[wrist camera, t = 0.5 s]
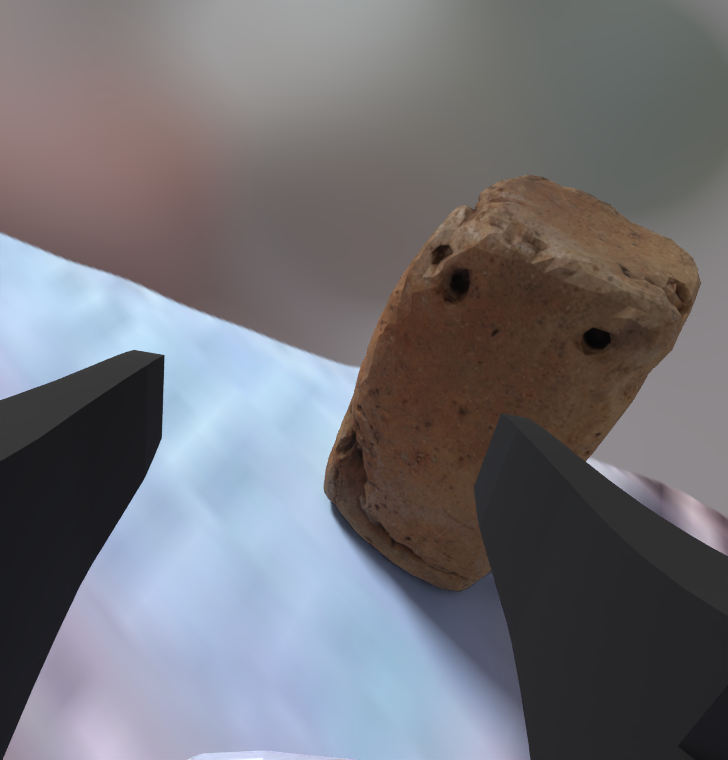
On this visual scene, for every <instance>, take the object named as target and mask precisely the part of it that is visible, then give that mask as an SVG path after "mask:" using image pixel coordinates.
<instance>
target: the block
mask: <svg viewBox="0 0 728 760" xmlns="http://www.w3.org/2000/svg"><path fill="white" fill-rule="evenodd" d="M700 284H701V282H700V278H699V274H698V268H697V266H696V264H695V262H694V260H693V258H692V257H691V256H690V255H689V254H688V253H687V252H686V251H684V250H683V249H682V248H681V247H679V246H678V245H677V244H676V243H675V242H674V241H673V240H671V239H669V238H667V237H664V236H662V235H659V234H657V233H655V232H653V231H651V230H648V229H646V228H644V227H641V226H639V225H637V224H634V223H632V222H630V221H629V220H628V219H626V218H625V217H624V216H623V215H621V214H620V213H619V212H618V211H616V210H615V209H614V208H613V207H612V206H611V205H610V204H607V203H605V202H602V201H600V200H599V199H597V198H596V197H594V196H592V195H591V194H589V193H586V192H583V191H581V190H578V189H576V188H569V187H563V186H560V185H558V184H556V183H554V182H552V181H550V180H548V179H546V178H544V177H539V176H533V175H526V176H520V177H518V178H513V179H507V180H502V181H499V182H498V183H496V184H494V185H492V186H490V187H488V188H486V189H485V190H484V191H483V192H481V193H480V195H479V202H478V203H476V207H475V210H474V209H472V208H470V207H468V206H467V205H463V206H459V207H458V208H457V209H455V210H454V211H453V212H451V213H450V215H449V216H448V217H447V218H446V220H445V221H444V223H442V224H441V225H440V226H439V227H438V228H437V229H436V230H435V232H434V233H433V234H432V235H431V237H430V238H429V239H428V241H427V242H426V243H425V244H424V246H423V247H422V248H421V250H420V251H419V252H418V254H417V255H416V257H415V258H414V259H413V261H412V262H411V264H410V265H409V267H408V268H407V270H406V271H405V272H404V274H403V275H402V277H401V278H400V280H399V282H398V284H397V286H396V287H395V289H394V290H393V292H392V293H391V295H390V297H389V300H388V302H387V305H386V307H385V309H384V311H383V313H382V314H381V316H380V318H379V321H378V324H377V326H376V328H375V331H374V333H373V335H372V338H371V340H370V343H369V346H368V348H367V354H366V357H365V359H364V360H363V362H362V365H361V368H360V371H359V374H358V378H357V382H356V386H355V390H354V394H353V397H352V399H351V402H350V405H349V407H348V410H347V412H346V414H345V416H344V419H343V421H342V424H341V427H340V429H339V431H338V434H337V438H336V441H335V444H334V446H333V448H332V451H331V453H330V456H329V458H328V463H327V466H326V472H325V480H324V492H325V494H326V496H327V497H328V499H329V500H330V501H331V502H333V503H334V504H335V505H336V506H337V508H338V510H339V511H340V512H341V514H342V515H343V516H344V517H345V518H346V520H347V521H348V522H349V523H350V525H351V526H352V528H353V529H354V530H355V531H356V532H357V533H358V534H359V535H360V536H361V537H362V538H363V539H365V540H366V541H367V542H368V543H370V544H371V545H372V546H373V547H375V548H376V549H377V550H378V551H379V552H381V553H382V554H383V555H384V556H386V557H387V558H388V559H389V560H390V561H392V562H393V563H394V564H396V565H397V566H399V567H400V568H402V569H404V570H405V571H407V572H408V573H410V574H411V575H413V576H415V577H418V578H420V579H422V580H424V581H426V582H428V583H430V584H432V585H434V586H436V587H438V588H441V589H445V590H450V591H462V590H464V589H467V588H468V587H470V586H472V585H473V584H474V583H476V582H477V581H478V580H480V579H481V578H482V577H484V576H485V575H487V574H488V573H489V572H490V571H492V570H491V567H490V564H489V560H488V557H487V553H486V550H485V546H484V543H483V539H482V536H481V532H480V528H479V523H478V517H477V511H476V503H475V494H474V485H475V482H476V479H477V476H478V474H479V471H480V468H481V466H482V463H483V460H484V458H485V455H486V452H487V450H488V447H489V444H490V442H491V439H492V436H493V434H494V431H495V428H496V426H497V423H498V420H499V417H500V415H501V413H503V414H509V415H514V416H520V417H526V418H529V419H531V420H532V421H534V422H535V423H537V424H538V425H540V426H541V427H543V428H544V429H545V430H547V431H548V432H549V433H550V434H552V435H553V436H554V437H556V438H557V439H558V440H559V441H561V442H562V443H563V444H564V445H566V446H567V447H568V448H569V449H570V450H572V451H573V452H574V453H575V454H577V455H578V456H579V457H580V458H582V459H583V460H584V461H585V462H586V461H587V459H588V458H589V457H590V456H591V455H592V454H593V452H594V451H595V450H596V448H597V447H598V446H599V445H600V443H601V442H602V441H603V439H604V438H605V437H606V436H607V434H608V433H609V432H610V430H611V429H612V428H613V426H614V425H615V424H616V422H617V421H618V420H619V419H620V417H621V416H622V415H623V413H624V412H625V411H626V409H627V408H628V407H629V405H630V404H631V403H632V401H633V400H634V398H635V397H636V395H637V393H638V391H639V390H640V388H641V386H642V385H643V383H644V381H645V379H646V378H647V375H648V374H649V373H650V372H651V370H652V369H653V368H655V367H656V366H657V365H658V364H659V363H660V361H662V360H663V359H664V357H666V355H667V354H668V353H669V352H670V351H671V350H672V349H673V347H674V345H675V342H676V340H677V338H678V335H679V333H680V331H681V329H682V327H683V325H684V323H685V321H686V319H687V317H688V316H689V314H690V311H691V309H692V306H693V304H694V301H695V299H696V296H697V293H698V290H699V287H700Z"/></svg>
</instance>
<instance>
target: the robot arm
mask: <svg viewBox="0 0 728 760" xmlns="http://www.w3.org/2000/svg"><path fill="white" fill-rule="evenodd" d="M163 385H164V355H160V354H155V353H149V352H143V351H137V350H132V351H129V352H125V353H123V354H120V355H117V356H115V357H112V358H110V359H107V360H105V361H102V362H100V363H97V364H95V365H93V366H90V367H88V368H85V369H83V370H80V371H78V372H75V373H73V374H70V375H68V376H66V377H63V378H61V379H58V380H56V381H53V382H50V383H48V384H45V385H42V386H39V387H36V388H34V389H31V390H28V391H25V392H22V393H20V394H17V395H14V396H11V397H9V398H6V399H3V400H0V760H3V757H4V755H5V752H6V750H7V748H8V745H9V743H10V741H11V738H12V736H13V734H14V731H15V729H16V727H17V724H18V722H19V719H20V717H21V715H22V712H23V710H24V708H25V705H26V703H27V701H28V698H29V696H30V694H31V691H32V689H33V687H34V684H35V682H36V680H37V678H38V675H39V673H40V671H41V669H42V667H43V664H44V662H45V660H46V658H47V655H48V653H49V651H50V649H51V647H52V644H53V642H54V640H55V638H56V635H57V633H58V631H59V629H60V627H61V625H62V623H63V621H64V619H65V616H66V614H67V612H68V610H69V608H70V606H71V604H72V602H73V600H74V597H75V595H76V593H77V591H78V589H79V587H80V585H81V583H82V581H83V580H84V578H85V576H86V574H87V572H88V571H89V569H90V567H91V565H92V563H93V562H94V560H95V559H96V557H97V555H98V554H99V552H100V550H101V549H102V547H103V546H104V544H105V542H106V541H107V539H108V537H109V536H110V534H111V533H112V531H113V529H114V528H115V526H116V524H117V523H118V521H119V520H120V518H121V516H122V515H123V513H124V511H125V510H126V508H127V507H128V505H129V503H130V502H131V500H132V498H133V497H134V495H135V493H136V492H137V490H138V488H139V487H140V485H141V483H142V482H143V480H144V478H145V476H146V474H147V472H148V469H149V467H150V465H151V463H152V460H153V458H154V456H155V453H156V451H157V448H158V446H159V443H160V441H161V439H162V414H163ZM474 494H475V503H476V511H477V517H478V523H479V528H480V532H481V536H482V539H483V543H484V546H485V550H486V553H487V557H488V560H489V564H490V567H491V570H492V574H493V577H494V580H495V584H496V587H497V590H498V594H499V597H500V601H501V604H502V607H503V611H504V614H505V617H506V621H507V625H508V629H509V633H510V637H511V641H512V647H513V652H514V658H515V663H516V669H517V674H518V679H519V685H520V691H521V697H522V704H523V710H524V716H525V723H526V729H527V736H528V742H529V750H530V758H531V760H728V556H726V555H724V554H723V553H721V552H719V551H717V550H715V549H713V548H711V547H710V546H708V545H706V544H705V543H703V542H701V541H699V540H698V539H696V538H694V537H692V536H691V535H689V534H688V533H686V532H684V531H683V530H681V529H680V528H678V527H676V526H675V525H673V524H672V523H670V522H668V521H667V520H665V519H664V518H662V517H660V516H659V515H657V514H656V513H654V512H653V511H651V510H650V509H648V508H647V507H645V506H644V505H643V504H641V503H640V502H638V501H637V500H636V499H634V498H633V497H631V496H630V495H629V494H627V493H626V492H625V491H623V490H622V489H620V488H619V487H618V486H616V485H615V484H614V483H612V482H611V481H610V480H608V479H607V478H606V477H604V476H603V475H602V474H601V473H599V472H598V471H597V470H595V469H594V468H593V467H592V466H590V465H589V464H588V463H587V462H585V461H584V460H583V459H582V458H580V457H579V456H578V455H577V454H575V453H574V452H573V451H572V450H570V449H569V448H568V447H567V446H566V445H564V444H563V443H562V442H561V441H559V440H558V439H557V438H556V437H554V436H553V435H552V434H550V433H549V432H548V431H547V430H545V429H544V428H543V427H541V426H540V425H538V424H537V423H535V422H534V421H532V420H531V419H529V418H526V417H520V416H514V415H509V414H503V413H501V415H500V417H499V420H498V423H497V426H496V428H495V431H494V434H493V436H492V439H491V442H490V444H489V447H488V450H487V452H486V455H485V458H484V460H483V463H482V466H481V468H480V471H479V474H478V476H477V479H476V482H475V485H474ZM188 760H353V759H343V758H333V757H323V756H313V755H303V754H293V753H283V752H273V751H245V752H224V753H203V754H200V755H197V756H195V757H193V758H190V759H188Z"/></svg>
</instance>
